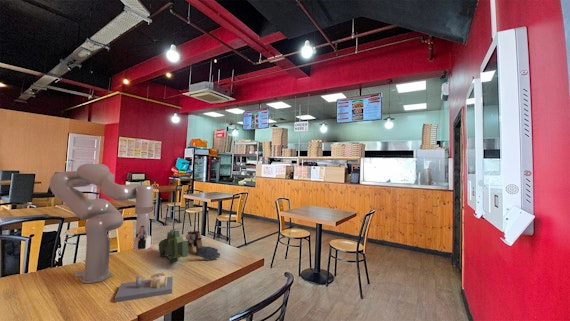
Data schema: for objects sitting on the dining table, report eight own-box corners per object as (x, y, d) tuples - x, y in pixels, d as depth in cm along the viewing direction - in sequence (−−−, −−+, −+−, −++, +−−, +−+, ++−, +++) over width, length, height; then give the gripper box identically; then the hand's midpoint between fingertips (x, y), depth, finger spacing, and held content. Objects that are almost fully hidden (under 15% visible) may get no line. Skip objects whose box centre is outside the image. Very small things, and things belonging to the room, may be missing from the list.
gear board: (114, 302, 102) (115, 284, 102) (120, 287, 114) (121, 271, 114) (172, 293, 111) (172, 276, 111) (172, 280, 123) (173, 265, 123)
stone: (217, 257, 156) (217, 241, 156) (221, 260, 151) (221, 244, 152) (195, 261, 147) (196, 245, 147) (198, 265, 143) (199, 248, 143)
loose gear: (132, 250, 115) (133, 240, 115) (134, 246, 121) (135, 236, 121) (150, 248, 118) (151, 238, 119) (151, 244, 125) (151, 234, 125)
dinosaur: (197, 257, 137) (194, 223, 142) (176, 261, 129) (174, 226, 134) (177, 259, 161) (175, 231, 166) (158, 264, 153) (156, 233, 159)
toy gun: (192, 251, 179) (192, 230, 183) (204, 253, 157) (203, 229, 161) (186, 252, 176) (185, 231, 180) (197, 254, 154) (196, 230, 158)
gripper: (137, 207, 126) (135, 241, 126) (133, 213, 111) (131, 253, 110) (153, 206, 130) (151, 240, 129) (151, 212, 114) (150, 250, 114)
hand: (142, 245), depth 120 cm, fingers closed on loose gear, 7 cm apart
